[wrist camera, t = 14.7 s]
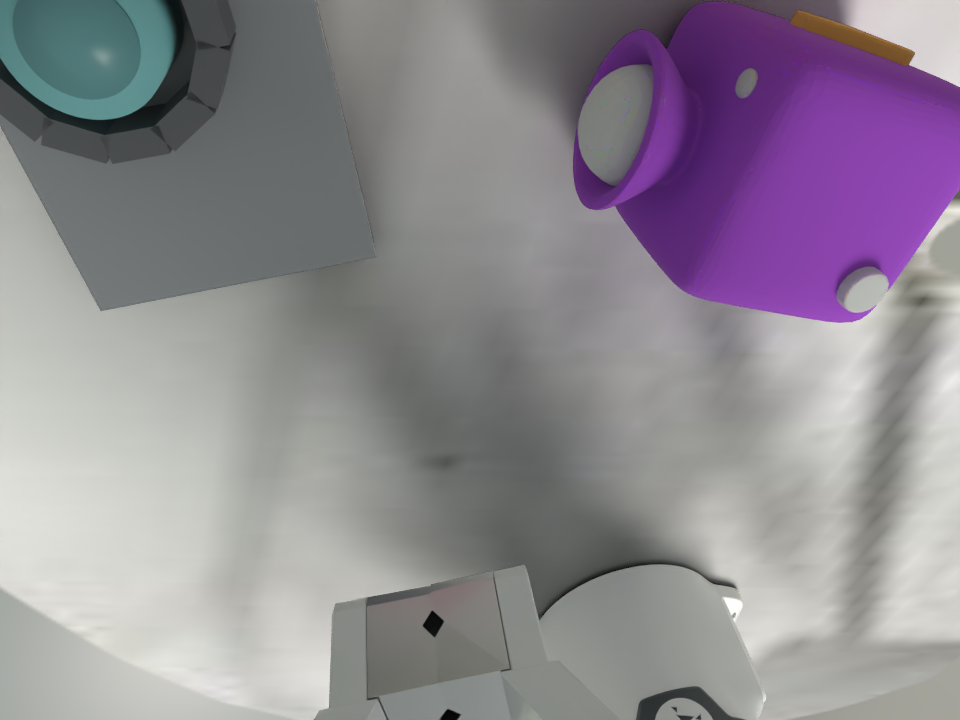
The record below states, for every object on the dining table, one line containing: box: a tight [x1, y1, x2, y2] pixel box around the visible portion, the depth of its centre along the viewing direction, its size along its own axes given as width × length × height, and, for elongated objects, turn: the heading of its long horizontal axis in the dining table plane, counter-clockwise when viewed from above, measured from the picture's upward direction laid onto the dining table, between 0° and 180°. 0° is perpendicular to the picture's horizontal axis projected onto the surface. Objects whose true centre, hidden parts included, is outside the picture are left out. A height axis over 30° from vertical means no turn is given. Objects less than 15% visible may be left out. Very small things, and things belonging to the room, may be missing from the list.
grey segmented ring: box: [0, 0, 236, 164], centre depth 23 cm, size 8×8×2 cm
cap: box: [0, 0, 183, 120], centre depth 23 cm, size 5×5×4 cm
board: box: [0, 0, 376, 311], centre depth 27 cm, size 16×12×1 cm
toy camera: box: [573, 1, 960, 323], centre depth 28 cm, size 11×14×10 cm
